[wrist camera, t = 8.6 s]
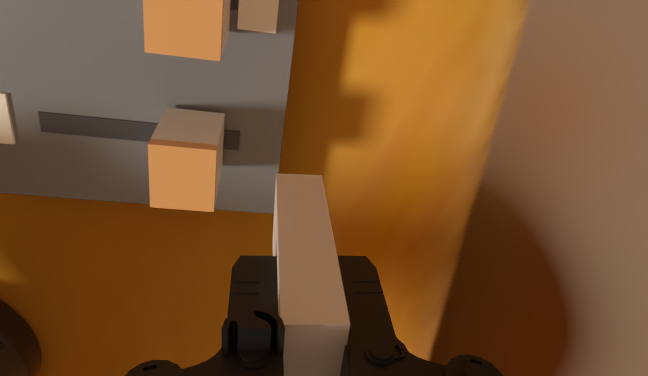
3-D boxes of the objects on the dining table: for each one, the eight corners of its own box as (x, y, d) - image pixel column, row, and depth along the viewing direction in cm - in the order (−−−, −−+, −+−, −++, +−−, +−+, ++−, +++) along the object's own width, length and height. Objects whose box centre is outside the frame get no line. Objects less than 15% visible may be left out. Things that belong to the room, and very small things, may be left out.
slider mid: (165, 26, 25) (144, 52, 21) (163, -51, 24) (141, -39, 20) (228, 34, 26) (220, 61, 22) (232, -41, 24) (223, -27, 20)
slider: (166, 164, 29) (150, 207, 25) (166, 107, 28) (147, 143, 24) (222, 169, 30) (213, 212, 26) (224, 113, 28) (216, 150, 24)
